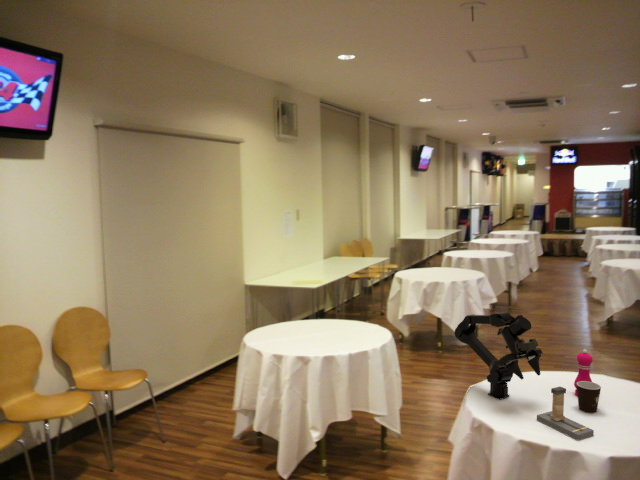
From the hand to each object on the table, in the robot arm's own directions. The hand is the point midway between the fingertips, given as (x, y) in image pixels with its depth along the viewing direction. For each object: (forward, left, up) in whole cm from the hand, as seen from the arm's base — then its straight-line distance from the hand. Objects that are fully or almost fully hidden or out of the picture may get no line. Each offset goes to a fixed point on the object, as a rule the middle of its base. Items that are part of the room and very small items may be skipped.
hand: (531, 377), depth 207 cm
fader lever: (+13, -3, -11) cm, 18 cm away
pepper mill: (+4, +32, -14) cm, 35 cm away
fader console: (+16, -3, -14) cm, 21 cm away
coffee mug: (+13, +21, -14) cm, 28 cm away
